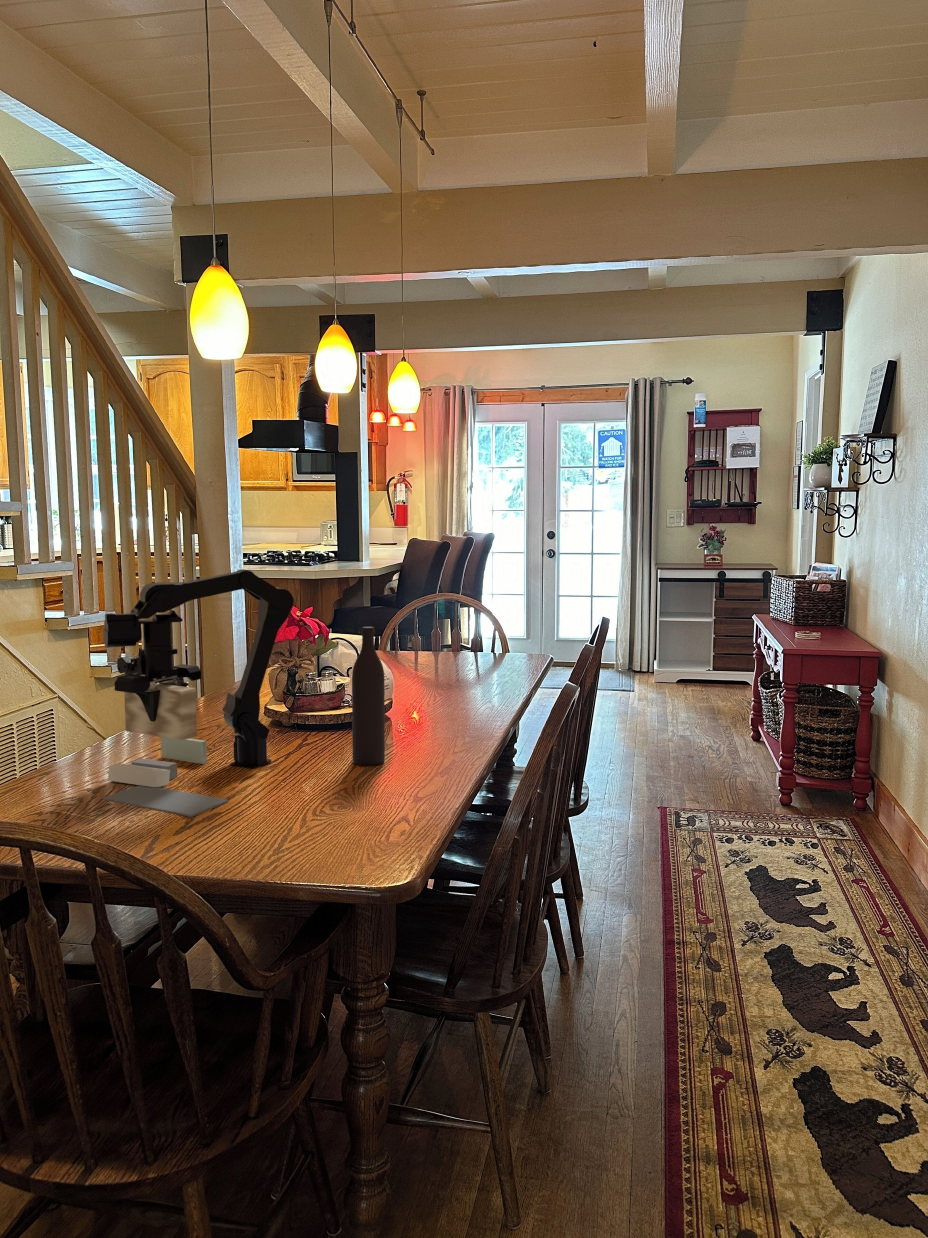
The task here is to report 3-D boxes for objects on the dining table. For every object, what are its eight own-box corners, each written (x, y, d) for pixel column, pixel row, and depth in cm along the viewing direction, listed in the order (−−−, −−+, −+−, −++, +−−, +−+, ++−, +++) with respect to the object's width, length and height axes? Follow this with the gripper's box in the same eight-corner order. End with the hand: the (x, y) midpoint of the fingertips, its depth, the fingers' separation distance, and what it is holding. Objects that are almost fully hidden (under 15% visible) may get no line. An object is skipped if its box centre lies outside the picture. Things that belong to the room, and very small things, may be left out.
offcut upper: (168, 782, 188) (177, 779, 191) (167, 766, 188) (176, 763, 191) (132, 778, 192) (141, 774, 194) (131, 762, 191) (141, 758, 194)
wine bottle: (389, 759, 206) (388, 626, 203) (378, 767, 200) (377, 629, 196) (359, 757, 208) (358, 624, 205) (347, 765, 201) (346, 628, 198)
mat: (228, 801, 176) (228, 799, 175) (191, 817, 167) (191, 815, 167) (141, 786, 185) (141, 784, 185) (102, 800, 176) (102, 798, 176)
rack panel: (207, 763, 202) (206, 740, 202) (203, 764, 201) (202, 742, 201) (165, 756, 207) (164, 734, 207) (161, 757, 206) (160, 736, 206)
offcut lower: (168, 785, 186) (169, 770, 186) (155, 787, 182) (156, 772, 183) (122, 778, 191) (123, 763, 191) (107, 780, 187) (109, 765, 187)
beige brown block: (197, 736, 189) (195, 688, 188) (182, 740, 186) (181, 691, 185) (140, 727, 197) (138, 681, 196) (125, 731, 193) (123, 684, 192)
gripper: (163, 636, 201) (165, 707, 203) (93, 647, 185) (96, 724, 186) (202, 640, 196) (204, 712, 198) (133, 651, 180) (136, 730, 181)
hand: (160, 719), depth 191 cm, fingers closed on beige brown block, 4 cm apart
